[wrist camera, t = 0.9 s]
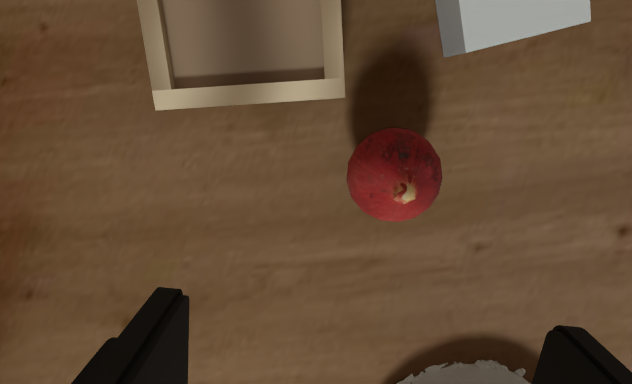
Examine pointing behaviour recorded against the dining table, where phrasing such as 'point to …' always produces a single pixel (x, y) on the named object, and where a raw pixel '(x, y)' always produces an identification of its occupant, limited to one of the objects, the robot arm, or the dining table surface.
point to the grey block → (503, 21)
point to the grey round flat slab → (468, 374)
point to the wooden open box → (242, 51)
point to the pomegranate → (394, 174)
